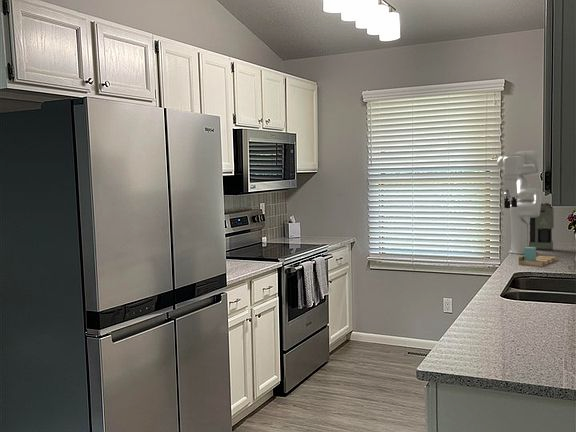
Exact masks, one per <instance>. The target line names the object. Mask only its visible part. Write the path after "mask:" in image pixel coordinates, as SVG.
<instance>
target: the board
mask: <svg viewBox="0 0 576 432" xmlns="http://www.w3.org/2000/svg"><path fill="white" fill-rule="evenodd" d="M557 258H558V257H557V256H551V255H539V254H538V251H536V260H534V261H525V260H524V255H521V256H518V265H519V266H520V265H523V266H532V265H533V266H534V267H544V266H545V265H548V264H551V263H554V262H556V261H557V260H558V259H557ZM533 266H532V267H533Z"/></svg>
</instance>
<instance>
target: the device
mask: <svg viewBox="0 0 576 432" xmlns="http://www.w3.org/2000/svg"><path fill="white" fill-rule="evenodd" d="M551 205H552V204H550V203H548V202H545V203H542V202H541V210H540V215H539V216H538V217H536V218H529V223H528V225H529V232H528V235H529V241H528V246H529V247H536V251H554V241H553V240H552V239H553V238H552V237H553V236H552V231H553V228H554V219H555V217H554V216H555V215H554V213H555V211H554V210H555V209H554V208H553V207H554V206H553V207H551Z"/></svg>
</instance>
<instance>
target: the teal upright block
mask: <svg viewBox="0 0 576 432" xmlns="http://www.w3.org/2000/svg"><path fill="white" fill-rule="evenodd" d="M536 252H537V250H536V247H526V248H524V254H523V256H524V260H525V261H534V260H536Z"/></svg>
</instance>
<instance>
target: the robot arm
mask: <svg viewBox="0 0 576 432" xmlns="http://www.w3.org/2000/svg"><path fill="white" fill-rule="evenodd" d="M497 168H498V169H500V170H503V186H502V188H503V189H502V197H503V201H504V202H503V203H504V204H503V207H504V209H509V214H510V223H511V225H510V226H511V228H510V234H511V236H510V237H511V239H510V241H511V243H510V245H511V246H510V247H511V248H510V249H509V250H508V254H509V253H510V254H519V255H524V248H526V247H529V241H528V240H529V238H528V237H529V231H528V229H529V224H528V222H527V221H526V220H525V218H527V219H528V218H529V219H530V218H536V217H538V216H539V215H540V210H541V203H542V200H543V199H542V197H543V195H542V191H541V189H540V188H536V187H531V183H530V181H529V180H528V179H527V178H526V177H525V176H538V175H541V173H542V163H541V158H540V155H539V153H538V151H536V150H521V151H519V150H518V151H517V152H515V153H510V154H504V155H501V156H499V157H498V160H497Z"/></svg>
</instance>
